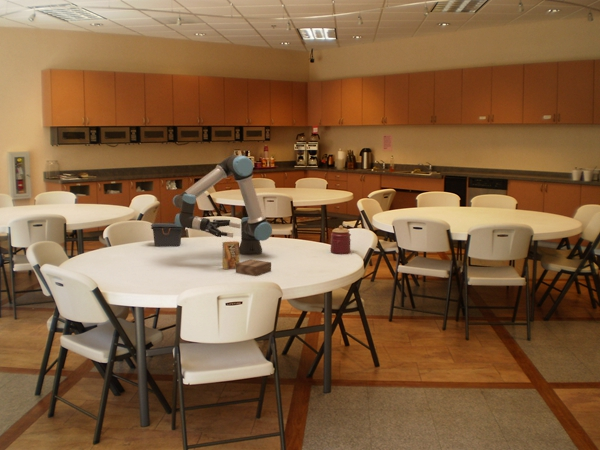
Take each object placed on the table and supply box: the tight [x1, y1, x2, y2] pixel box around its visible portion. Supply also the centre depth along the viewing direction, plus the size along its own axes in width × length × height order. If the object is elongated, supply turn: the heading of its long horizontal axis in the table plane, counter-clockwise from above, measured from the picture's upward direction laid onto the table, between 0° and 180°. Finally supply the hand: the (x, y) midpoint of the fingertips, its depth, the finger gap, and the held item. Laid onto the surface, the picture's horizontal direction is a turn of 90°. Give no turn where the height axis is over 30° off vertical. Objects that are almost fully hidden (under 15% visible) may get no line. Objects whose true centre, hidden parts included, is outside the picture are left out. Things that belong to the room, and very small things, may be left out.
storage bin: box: [150, 222, 184, 247], centre depth 423 cm, size 21×16×14 cm
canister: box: [330, 225, 352, 255], centre depth 405 cm, size 13×13×18 cm
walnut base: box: [235, 259, 272, 277], centre depth 349 cm, size 14×14×5 cm
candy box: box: [222, 240, 240, 270], centre depth 357 cm, size 9×4×15 cm, turn 116°
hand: (236, 230), depth 359 cm, fingers open, 13 cm apart
